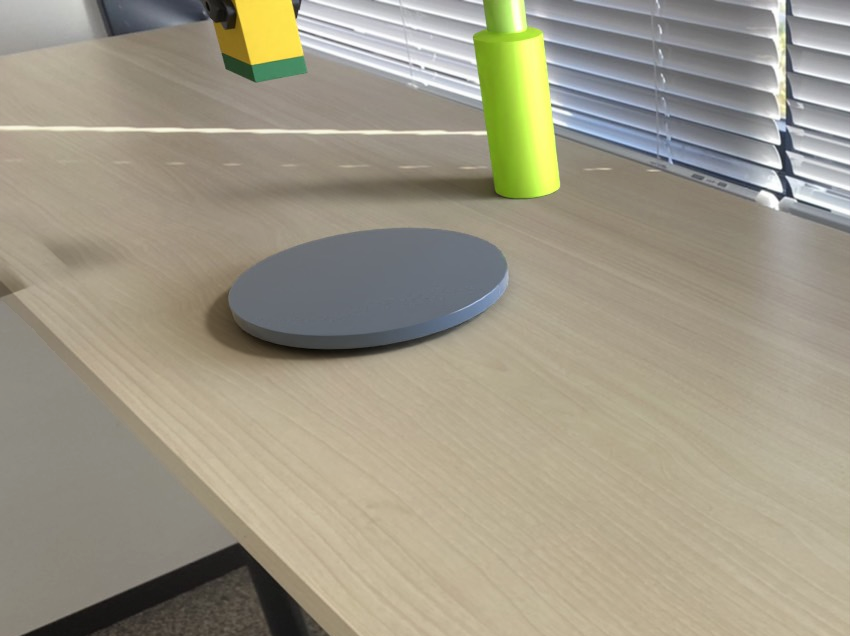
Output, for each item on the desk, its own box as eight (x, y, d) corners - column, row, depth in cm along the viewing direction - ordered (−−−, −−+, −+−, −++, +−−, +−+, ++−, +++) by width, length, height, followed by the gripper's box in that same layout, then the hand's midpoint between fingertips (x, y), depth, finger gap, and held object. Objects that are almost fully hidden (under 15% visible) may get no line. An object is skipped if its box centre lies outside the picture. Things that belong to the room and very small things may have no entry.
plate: (365, 383, 75) (360, 361, 74) (175, 317, 84) (168, 296, 83) (565, 277, 89) (562, 257, 88) (382, 230, 98) (378, 211, 97)
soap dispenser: (507, 206, 102) (471, -48, 90) (488, 183, 107) (451, -60, 95) (571, 195, 103) (544, -54, 92) (549, 173, 109) (521, -66, 97)
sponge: (255, 83, 83) (224, -41, 79) (225, 69, 87) (193, -50, 82) (307, 73, 85) (280, -48, 81) (276, 60, 89) (248, -57, 84)
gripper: (41, -232, 76) (164, -4, 76) (252, -240, 83) (365, -33, 83) (47, -143, 82) (161, 67, 82) (243, -158, 90) (347, 35, 89)
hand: (263, 16), depth 82 cm, fingers closed on sponge, 4 cm apart
